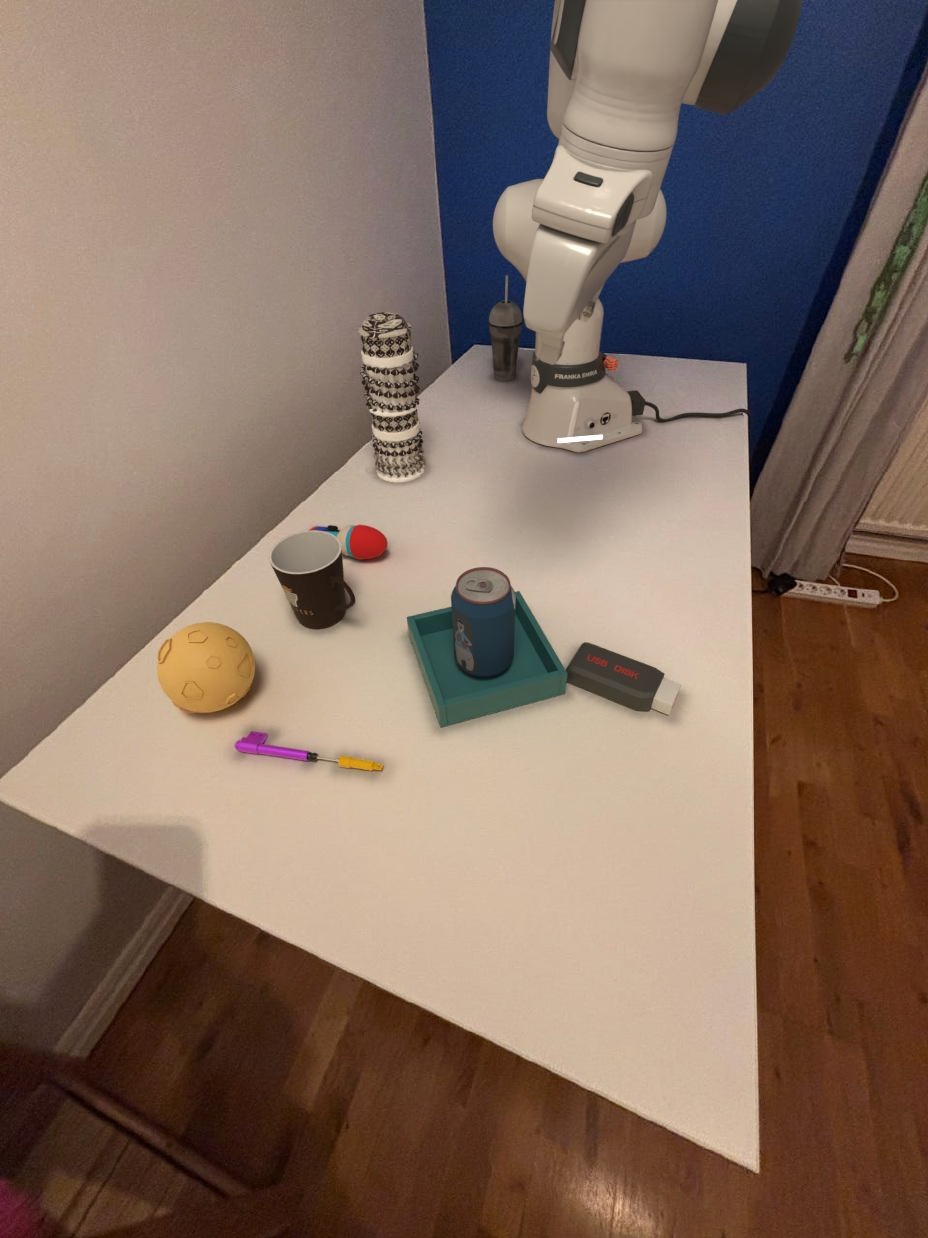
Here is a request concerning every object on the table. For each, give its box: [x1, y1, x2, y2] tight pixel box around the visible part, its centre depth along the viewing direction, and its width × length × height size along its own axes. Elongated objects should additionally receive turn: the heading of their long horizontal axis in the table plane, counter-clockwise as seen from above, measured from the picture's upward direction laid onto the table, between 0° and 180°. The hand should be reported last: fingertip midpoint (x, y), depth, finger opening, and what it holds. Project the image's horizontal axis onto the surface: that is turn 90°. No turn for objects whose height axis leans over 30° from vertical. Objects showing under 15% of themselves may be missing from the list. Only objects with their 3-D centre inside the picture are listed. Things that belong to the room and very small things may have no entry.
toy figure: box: [309, 524, 388, 560], centre depth 87 cm, size 8×5×15 cm
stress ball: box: [156, 621, 256, 715], centre depth 65 cm, size 10×10×10 cm
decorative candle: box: [356, 311, 426, 483], centre depth 96 cm, size 9×9×25 cm
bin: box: [406, 590, 568, 728], centre depth 70 cm, size 15×15×4 cm
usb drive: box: [565, 641, 682, 716], centre depth 67 cm, size 5×12×3 cm, turn 59°
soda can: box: [450, 566, 516, 679], centre depth 66 cm, size 7×7×12 cm
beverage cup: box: [487, 274, 524, 382], centre depth 126 cm, size 7×7×20 cm
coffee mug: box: [268, 529, 356, 630], centre depth 74 cm, size 12×9×10 cm
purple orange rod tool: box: [234, 730, 384, 772], centre depth 62 cm, size 3×1×16 cm
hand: (566, 337), depth 60 cm, fingers open, 8 cm apart
